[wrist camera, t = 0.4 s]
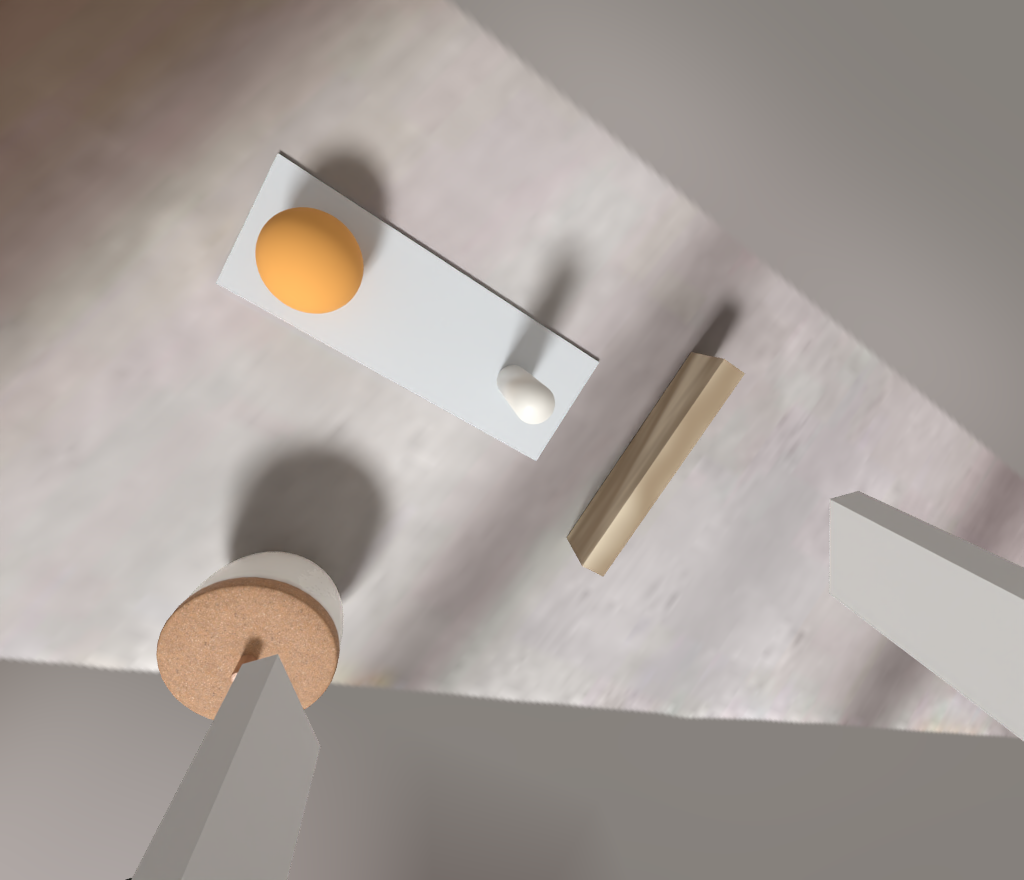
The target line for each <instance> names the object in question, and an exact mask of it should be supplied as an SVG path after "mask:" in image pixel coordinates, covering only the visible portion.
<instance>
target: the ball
mask: <svg viewBox="0 0 1024 880" xmlns="http://www.w3.org/2000/svg"><path fill="white" fill-rule="evenodd" d="M255 258H256V265H257V268H258V272H259V274H260V277H261V279H262V281H263V282H264V284H265V286H266V287H267V288H268V290H269V291H270V292H271V293H272V294H273V295H274V296H275V297H276V298H277V299H278V300H280V301H281V302H282V303H284V304H285V305H287V306H289V307H291V308H293V309H295V310H298V311H301V312H305V313H313V314H322V313H328V312H332V311H335V310H337V309H339V308H341V307H342V306H344V305H346V304H347V303H348V302H349V301H350V300H351V299H352V298H353V297H354V296H355V294H356V293H357V291H358V289H359V287H360V285H361V282H362V278H363V270H364V265H363V257H362V253H361V250H360V247H359V245H358V243H357V241H356V239H355V237H354V236H353V234H352V233H351V232H350V230H349V229H348V228H347V227H346V226H345V225H344V224H343V223H342V222H341V221H339V220H338V219H337V218H335V217H334V216H332V215H330V214H328V213H326V212H324V211H321V210H318V209H315V208H309V207H297V208H291V209H287V210H284V211H282V212H279V213H278V214H276V215H274V216H273V217H272V218H271V219H269V220H268V221H267V223H266V224H265V225H264V226H263V228H262V230H261V231H260V234H259V236H258V239H257V243H256V249H255Z"/></svg>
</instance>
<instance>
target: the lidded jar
mask: <svg viewBox="0 0 1024 880" xmlns="http://www.w3.org/2000/svg"><path fill="white" fill-rule="evenodd" d="M342 634H343V607H342V602H341V598H340V595H339V593H338V590H337V588H336V586H335V584H334V582H333V581H332V579H331V578H330V577H329V575H328V574H327V573H326V572H325V571H324V570H323V569H322V568H320V567H319V566H318V565H317V564H315V563H314V562H312V561H310V560H309V559H306V558H304V557H302V556H299V555H295V554H292V553H286V552H262V553H256V554H252V555H249V556H245V557H242V558H240V559H238V560H235V561H233V562H231V563H229V564H228V565H226V566H224V567H223V568H221V569H220V570H218V571H217V572H215V573H214V574H213V575H211V576H210V577H209V578H208V579H207V580H206V581H204V582H203V583H202V584H201V585H200V586H199V587H198V588H197V589H196V590H195V591H194V592H193V593H192V594H191V595H190V596H189V598H187V599H186V600H185V601H184V602H183V603H182V604H181V605H180V606H179V607H178V608H177V609H176V610H175V611H174V613H173V614H172V615H171V616H170V618H169V619H168V620H167V621H166V623H165V625H164V627H163V629H162V631H161V633H160V637H159V640H158V644H157V662H158V668H159V671H160V674H161V677H162V679H163V681H164V683H165V684H166V686H167V688H168V689H169V690H170V692H171V693H172V694H173V695H174V697H175V698H176V699H178V700H179V701H180V702H181V703H182V704H183V705H185V706H186V707H188V708H189V709H191V710H192V711H194V712H195V713H197V714H200V715H202V716H204V717H206V718H209V719H212V720H214V718H215V716H216V714H217V712H218V710H219V708H220V706H221V704H222V702H223V700H224V699H225V697H226V695H227V693H228V691H229V689H230V687H231V685H232V683H233V681H234V679H235V677H236V675H237V673H238V671H239V669H240V667H241V665H242V664H244V663H248V662H252V661H255V660H259V659H262V658H266V657H269V656H273V655H277V654H278V655H279V657H280V660H281V662H282V664H283V666H284V668H285V670H286V673H287V675H288V677H289V679H290V681H291V683H292V686H293V688H294V690H295V692H296V694H297V696H298V699H299V701H300V703H301V705H302V707H303V709H306V708H307V707H309V706H310V705H311V704H313V703H314V702H315V701H316V700H317V699H319V697H320V696H321V695H322V694H323V693H324V691H326V689H327V687H328V686H329V684H330V683H331V681H332V679H333V676H334V674H335V671H336V668H337V663H338V658H339V652H340V644H341V639H342Z"/></svg>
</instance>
